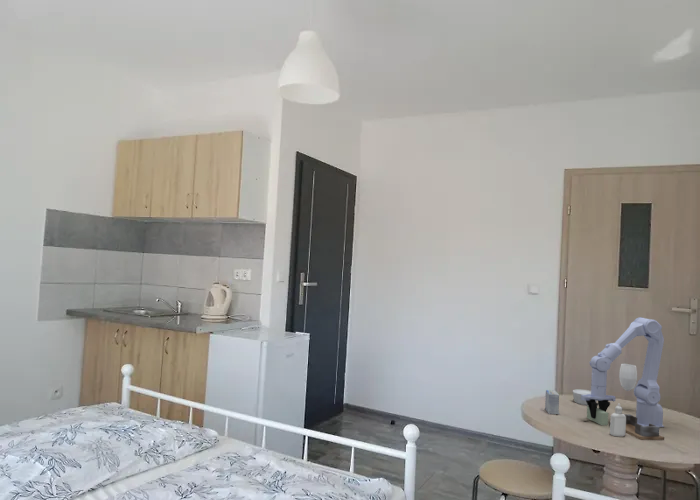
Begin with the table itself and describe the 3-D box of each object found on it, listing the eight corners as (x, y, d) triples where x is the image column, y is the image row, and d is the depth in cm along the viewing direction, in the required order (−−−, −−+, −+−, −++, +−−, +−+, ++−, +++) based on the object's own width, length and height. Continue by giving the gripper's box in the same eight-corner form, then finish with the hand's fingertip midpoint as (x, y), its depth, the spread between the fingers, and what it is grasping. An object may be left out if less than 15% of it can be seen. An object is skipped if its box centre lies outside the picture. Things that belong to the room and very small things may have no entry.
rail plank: (593, 417, 223) (593, 406, 223) (607, 425, 213) (608, 412, 213) (586, 417, 223) (587, 405, 223) (601, 425, 213) (601, 412, 213)
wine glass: (636, 410, 240) (638, 365, 240) (634, 414, 234) (637, 367, 234) (618, 407, 244) (620, 362, 244) (616, 410, 238) (618, 365, 238)
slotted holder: (631, 424, 216) (632, 414, 216) (664, 440, 198) (664, 428, 198) (609, 424, 215) (610, 413, 215) (640, 439, 197) (640, 427, 197)
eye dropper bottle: (626, 437, 198) (628, 406, 198) (610, 435, 200) (611, 404, 200) (624, 434, 202) (625, 403, 202) (608, 432, 204) (609, 401, 204)
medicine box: (558, 415, 225) (559, 394, 225) (547, 413, 226) (548, 393, 226) (555, 410, 232) (556, 390, 233) (544, 409, 233) (545, 389, 234)
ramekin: (575, 405, 244) (575, 393, 244) (569, 399, 255) (569, 388, 255) (600, 407, 242) (601, 396, 242) (593, 401, 253) (594, 390, 253)
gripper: (608, 383, 223) (607, 415, 223) (577, 382, 221) (575, 414, 221) (619, 387, 216) (617, 420, 216) (587, 386, 214) (585, 419, 214)
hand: (597, 418), depth 218 cm, fingers closed on rail plank, 3 cm apart
